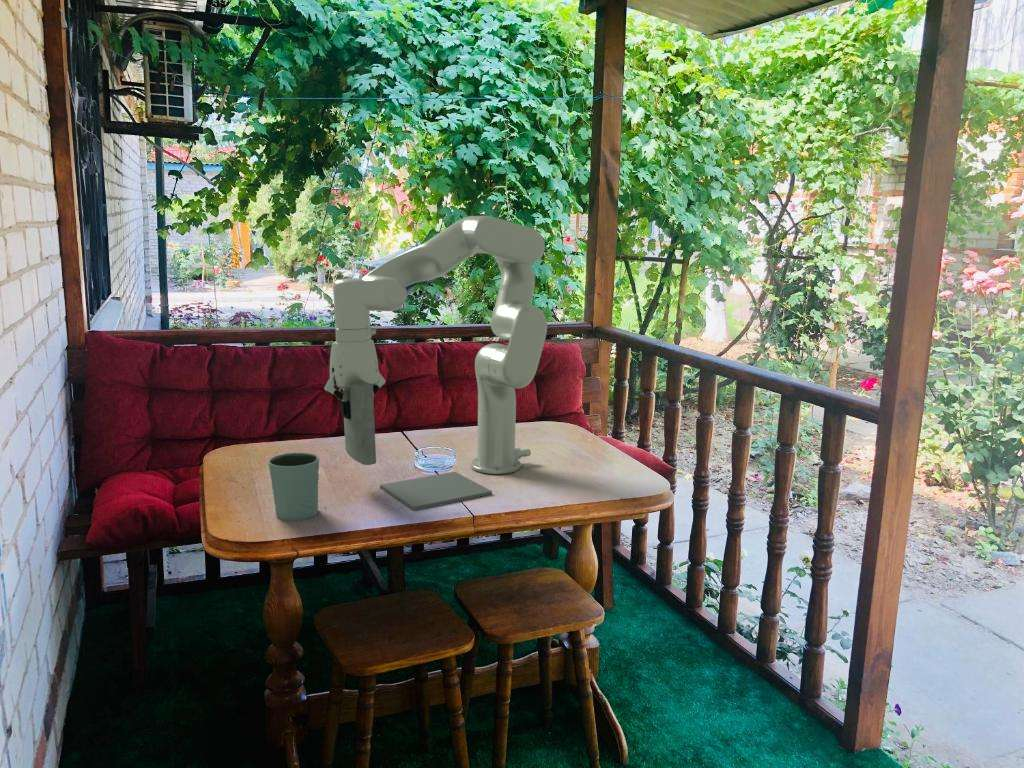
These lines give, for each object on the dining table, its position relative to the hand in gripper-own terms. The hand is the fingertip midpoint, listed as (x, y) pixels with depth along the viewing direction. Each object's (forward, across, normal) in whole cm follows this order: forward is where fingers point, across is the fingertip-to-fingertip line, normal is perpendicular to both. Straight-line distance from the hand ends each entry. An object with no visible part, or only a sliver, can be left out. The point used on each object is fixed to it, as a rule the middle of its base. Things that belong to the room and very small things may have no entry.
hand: (357, 415), depth 177 cm
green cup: (+18, +17, +6) cm, 25 cm away
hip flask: (+10, 0, 0) cm, 10 cm away
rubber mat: (+18, -15, +8) cm, 25 cm away
